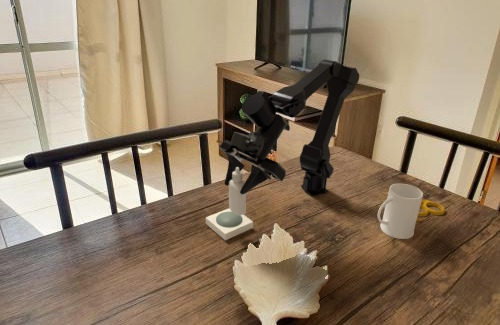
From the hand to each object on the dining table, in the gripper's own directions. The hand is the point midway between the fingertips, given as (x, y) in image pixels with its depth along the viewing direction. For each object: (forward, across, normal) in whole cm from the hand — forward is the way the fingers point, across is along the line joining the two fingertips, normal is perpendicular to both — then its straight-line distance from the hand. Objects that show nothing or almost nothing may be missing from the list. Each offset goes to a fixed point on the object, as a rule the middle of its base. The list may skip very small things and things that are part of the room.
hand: (233, 189), depth 90 cm
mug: (-13, +27, +33) cm, 45 cm away
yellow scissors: (-23, +28, +44) cm, 57 cm away
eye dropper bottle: (+4, 0, +6) cm, 7 cm away
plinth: (+8, -3, +10) cm, 14 cm away
